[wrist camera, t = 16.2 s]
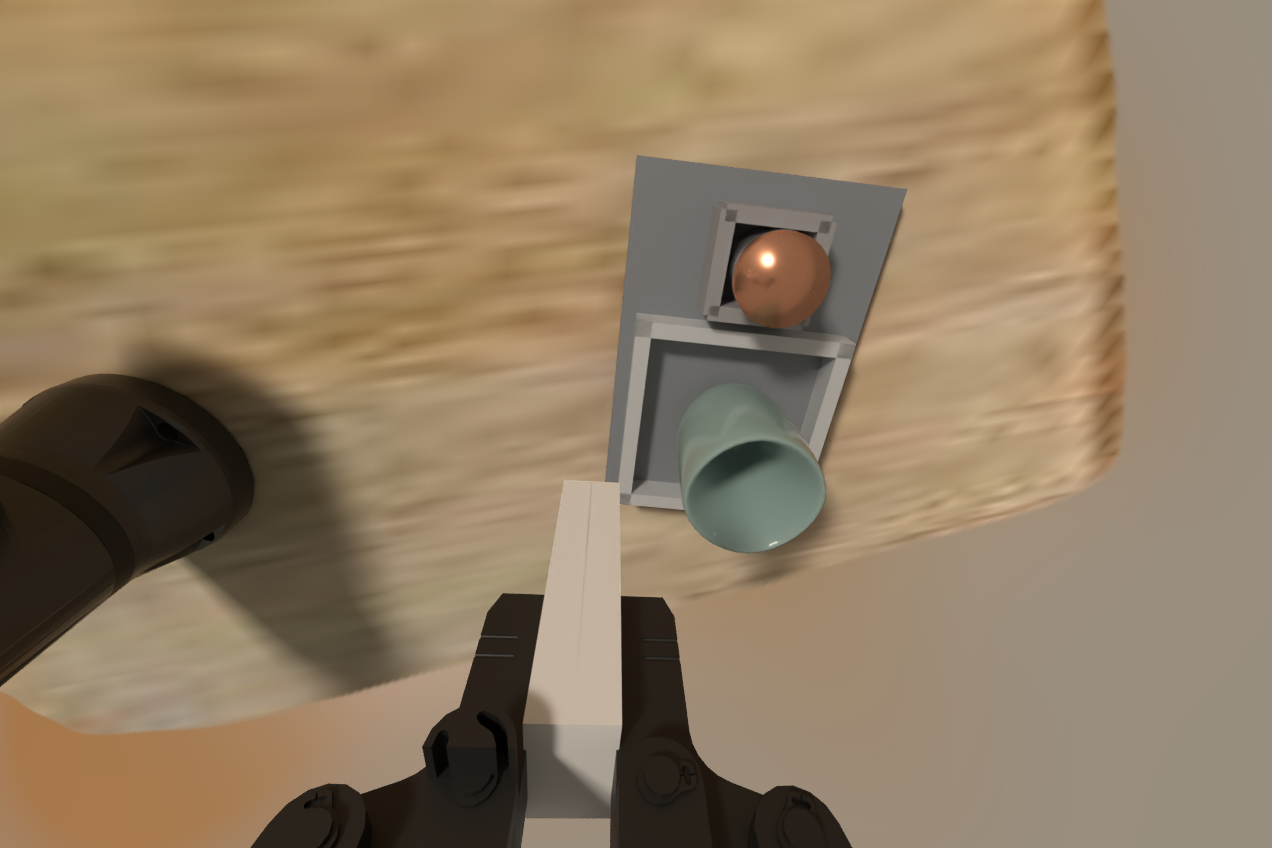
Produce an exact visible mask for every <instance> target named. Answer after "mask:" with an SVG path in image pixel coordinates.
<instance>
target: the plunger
mask: <svg viewBox="0 0 1272 848" xmlns="http://www.w3.org/2000/svg"><path fill="white" fill-rule="evenodd" d="M726 278H727V280H728V282H729V283H730V285H731V286H732V289H733V294H734V297H735V300H736V302H737V304H738V305H739V307H740V308H741V310H742V311H743V312H744V313H745V315H746V316H747V317H748V318H749V319H751V320H752V321H753V322H755V323H757V324H759V325H761V326H764V327H768V328H785V327H790V326H793V325H796V324H798V323H800V322H802V321H803V320H805V319H807V318H808V317H809V316H810V315H812V314H813V313H814V312H815V311H816V310H817V308H818V307H819V306H820V305H821V303H822V301H823V300H824V298H825V296H826V294H827V291H828V288H829V285H830V279H831V268H830V262H829V259H828V256H827V254H826V252H825V250H824V249H823V247H822V246H821V245H820V244H819V243H818V242H817V241H816V240H814V239H813V238H812V237H810V236H808V235H806V234H803V233H800V232H797V231H793V230H785V229H782V230H775V231H772V230H769V229H763V228H758V229H752V230H749V231H747V232H745V233H743V234H741V235H740V236H739V237H737V238H736V239H735V240H734V241H733V243H732V244H731V249H730V255H729V260H728V265H727V271H726Z"/></svg>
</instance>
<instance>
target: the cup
mask: <svg viewBox="0 0 1272 848" xmlns="http://www.w3.org/2000/svg"><path fill="white" fill-rule="evenodd" d="M675 450H676V463H677V473H678V481H679V488H680V495H681V501H682V505H683V508H684V510H685V513H686V516H687V518H688V520H689V521H690V523H691V524H692V526H693V527H694V528H695V529H696V530H697V531H698V532H699V533H700V534H701V535H702V536H703V537H704V538H705V539H707V540H708V541H710V542H711V543H713V544H715V545H717V546H719V547H721V548H723V549H726V550H730V551H733V552H740V553H756V552H762V551H766V550H770V549H773V548H776V547H778V546H780V545H783V544H785V543H787V542H788V541H790V540H792V539H793V538H795V537H797V536H798V535H799V534H800V533H802V532H803V531H804V530H805V529H807V527H808V526H809V525H810V524H811V523H812V522H813V521H814V520H815V518H816V517H817V515H818V514H819V512H820V511H821V509H822V506H823V504H824V501H825V498H826V484H825V479H824V474H823V472H822V469H821V467H820V465H819V463H818V461H817V459H816V457H815V455H814V454H813V452H812V450H811V449H810V447H809V446H808V444H807V442H806V441H805V439H804V438H803V436H802V435H801V433H800V432H799V430H798V429H797V427H796V426H795V425H794V423H793V422H792V421H791V419H790V418H789V417H788V415H787V414H786V413H785V412H784V410H783V409H782V408H781V407H780V406H779V405H778V404H777V403H776V402H775V401H774V400H773V399H772V398H770V397H769V396H768V395H767V394H766V393H764V392H762V391H761V390H759V389H757V388H755V387H754V386H751V385H748V384H745V383H740V382H725V383H721V384H718V385H714V386H712V387H710V388H708V389H706V390H705V391H703V392H702V393H701V394H699V395H698V396H697V397H696V398H695V399H694V400H693V401H692V402H691V403H690V404H689V405H688V407H687V408H686V410H685V411H684V413H683V415H682V417H681V419H680V421H679V424H678V429H677V434H676V443H675Z"/></svg>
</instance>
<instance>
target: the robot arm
mask: <svg viewBox="0 0 1272 848" xmlns="http://www.w3.org/2000/svg"><path fill="white" fill-rule="evenodd" d="M252 498H253V480H252V475H251V471H250V468H249V465H248V463H247V461H246V459H245V457H244V455H243V453H242V451H241V450H240V448H239V446H238V445H237V443H236V442H235V441H234V439H233V438H232V437H231V436H230V434H229V433H228V432H227V431H226V430H225V429H224V428H223V427H222V426H221V425H220V424H219V423H218V422H217V421H216V420H215V419H214V418H213V417H212V416H210V415H209V414H208V413H207V412H206V411H204V410H203V409H202V408H200V407H199V406H197V405H196V404H195V403H193V402H192V401H190V400H188V399H187V398H185V397H183V396H181V395H180V394H178V393H176V392H174V391H172V390H170V389H168V388H165V387H163V386H161V385H158V384H155V383H153V382H150V381H146V380H143V379H139V378H135V377H131V376H125V375H117V374H95V375H88V376H84V377H80V378H77V379H74V380H71V381H69V382H66V383H63V384H60V385H58V386H55V387H52V388H49V389H47V390H45V391H43V392H41V393H39V394H37V395H35V396H34V397H32V398H31V399H30V400H28V401H27V402H26V403H25V404H23V406H22V407H21V408H20V409H19V410H17V411H16V412H15V413H13V414H12V415H11V416H9V417H8V418H7V419H6V420H4V421H3V422H2V423H1V424H0V687H1V686H2V685H3V684H4V683H6V682H7V681H8V680H9V679H10V678H12V677H13V676H14V675H15V674H17V673H18V672H19V671H20V670H21V669H23V668H24V667H25V666H26V665H28V664H29V663H30V662H31V661H32V660H34V659H35V658H36V657H37V656H39V655H40V654H41V653H42V652H43V651H45V650H46V649H47V648H48V647H50V646H51V645H52V644H53V643H54V642H56V641H57V640H58V639H59V638H61V637H62V636H63V635H64V634H65V633H67V632H68V631H69V630H70V629H72V628H73V627H74V626H75V625H76V624H78V623H79V622H80V621H81V620H83V619H84V618H85V617H86V616H87V615H89V614H90V613H91V612H92V611H94V610H95V609H96V608H97V607H98V606H100V605H101V604H102V603H103V602H105V601H106V600H107V599H108V598H109V597H111V596H112V595H113V594H114V593H116V592H117V591H118V590H119V589H121V588H122V587H123V586H124V585H126V584H127V583H128V582H130V581H131V580H133V579H134V578H137V577H139V576H141V575H143V574H146V573H148V572H150V571H153V570H155V569H157V568H159V567H162V566H164V565H166V564H168V563H171V562H173V561H175V560H178V559H180V558H182V557H184V556H187V555H189V554H191V553H193V552H195V551H198V550H200V549H202V548H204V547H207V546H209V545H211V544H212V543H214V542H215V541H217V540H218V539H220V538H221V537H222V536H224V535H225V534H226V533H227V532H228V531H229V530H230V529H232V528H233V527H234V526H235V525H236V524H237V523H238V522H240V521H241V520H242V519H243V517H244V516H245V515H246V513H247V512H248V510H249V508H250V505H251V502H252ZM422 748H423V753H424V758H425V763H426V767H425V768H423V769H422V770H421V771H419V772H418V773H416V774H415V775H413V776H410V777H408V778H406V779H404V780H401V781H399V782H396V783H393V784H390V785H387V786H384V787H381V788H378V789H375V790H372V791H369V792H366V793H363V794H360V793H359V792H357V791H356V790H354V789H353V788H351V787H349V786H348V785H345V784H326V785H323V786H320V787H317V788H314V789H310V790H308V791H306V792H305V793H303V794H302V795H300V796H299V797H297V798H296V799H294V800H293V801H291V802H290V803H288V804H287V805H286V806H285V807H284V808H283V809H282V810H281V811H280V812H279V813H278V814H277V815H276V816H275V817H274V819H272V821H271V822H270V823H269V824H268V825H267V826H266V828H265V829H264V830H263V832H262V833H261V834H260V836H259V837H258V838H257V840H256V841H255V843H254V844H253V845H252V846H251V848H521V842H522V835H523V828H524V821H525V814H526V818H611V823H610V824H611V825H610V827H611V829H610V848H852V847H851V845H850V843H849V841H848V839H847V837H846V835H845V834H844V832H843V830H842V828H841V826H840V824H839V823H838V821H837V820H836V818H835V817H834V816H833V815H832V813H831V812H830V810H829V809H828V807H827V806H826V805H825V804H824V803H823V802H821V801H820V800H819V799H818V798H817V797H815V796H814V795H813V794H812V793H810V792H808V791H806V790H803V789H801V788H798V787H795V786H776V787H775V788H773V789H771V790H770V791H768V792H766V793H765V794H764V795H762V794H759V793H757V792H754V791H752V790H749V789H747V788H744V787H742V786H739V785H736V784H734V783H731V782H729V781H727V780H725V779H723V778H722V777H720V776H718V775H717V774H715V773H714V772H713V771H712V770H711V769H709V768H708V767H707V766H706V765H705V763H704V762H703V761H702V759H701V758H700V757H699V756H698V754H697V752H696V750H695V748H694V746H693V744H692V740H691V736H690V732H689V725H688V718H687V710H686V702H685V694H684V687H683V680H682V672H681V664H680V660H679V649H678V643H677V634H676V626H675V618H674V615H673V614H672V612H671V610H670V609H669V607H668V606H667V604H666V602H665V601H664V599H663V598H658V597H630V596H621V577H620V483H615V482H596V481H577V480H564V484H563V490H562V496H561V502H560V508H559V514H558V520H557V526H556V531H555V537H554V543H553V549H552V555H551V561H550V567H549V572H548V578H547V584H546V590H545V595H535V594H506V593H503V594H502V595H501V596H500V597H499V599H498V600H497V601H496V602H495V604H494V605H493V606H492V607H491V608H490V610H489V611H488V612H487V616H486V619H485V622H484V626H483V629H482V633H481V638H480V639H479V643H478V646H477V650H476V654H475V658H474V660H473V663H472V667H471V670H470V674H469V677H468V680H467V684H466V687H465V690H464V694H463V697H462V701H461V704H460V707H459V708H458V709H456V710H454V711H452V712H450V713H448V714H447V715H445V716H444V717H443V718H442V719H441V720H440V721H439V722H438V723H437V724H436V725H435V726H434V727H433V728H432V730H431V731H430V733H429V735H428V737H427V739H426V741H425V743H424V745H423V746H422Z"/></svg>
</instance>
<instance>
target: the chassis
mask: <svg viewBox="0 0 1272 848" xmlns="http://www.w3.org/2000/svg"><path fill="white" fill-rule="evenodd" d="M906 192H907V189H901V188H893V187H885V186H877V185H869V184H861V183H853V182H845V181H837V180H830V179H822V178H814V177H806V176H798V175H790V174H782V173H774V172H766V171H758V170H750V169H742V168H734V167H726V166H718V165H710V164H702V163H694V162H686V161H678V160H670V159H662V158H654V157H646V156H639V155H637V160H636V170H635V180H634V191H633V201H632V211H631V221H630V232H629V242H628V252H627V263H626V273H625V283H624V294H623V304H622V314H621V324H620V335H619V345H618V355H617V366H616V376H615V386H614V397H613V407H612V417H611V427H610V438H609V448H608V458H607V469H606V479H605V482H615V483H620V504H624V505H635V506H647V507H658V508H669V509H680V510H684V508H683V505H682V501H681V495H680V488H679V481H678V473H677V463H676V450H675V443H676V434H677V429H678V424H679V421H680V419H681V417H682V415H683V413H684V411H685V410H686V408H687V407H688V405H689V404H690V403H691V402H692V401H693V400H694V399H695V398H696V397H697V396H698V395H699V394H701V393H702V392H703V391H705V390H706V389H708V388H710V387H712V386H714V385H718V384H721V383H725V382H740V383H745V384H748V385H751V386H754V387H755V388H757V389H759V390H761V391H762V392H764V393H766V394H767V395H768V396H769V397H770V398H772V399H773V400H774V401H775V402H776V403H777V404H778V405H779V406H780V407H781V408H782V409H783V410H784V412H785V413H786V414H787V415H788V417H789V418H790V419H791V421H792V422H793V423H794V425H795V426H796V427H797V429H798V430H799V432H800V433H801V435H802V436H803V438H804V439H805V441H806V442H807V444H808V446H809V447H810V449H811V450H812V452H813V454H814V455H815V457H816V459H817V461H818V460H819V457H820V454H821V451H822V448H823V445H824V442H825V439H826V436H827V432H828V429H829V426H830V423H831V420H832V417H833V414H834V411H835V408H836V405H837V402H838V399H839V396H840V393H841V390H842V387H843V384H844V381H845V378H846V375H847V372H848V368H849V365H850V362H851V359H852V356H853V353H854V350H855V347H856V344H857V341H858V338H859V335H860V332H861V329H862V326H863V323H864V320H865V317H866V314H867V310H868V307H869V304H870V301H871V298H872V295H873V292H874V289H875V286H876V283H877V280H878V277H879V274H880V271H881V268H882V265H883V262H884V259H885V256H886V253H887V249H888V246H889V243H890V240H891V237H892V234H893V231H894V228H895V225H896V222H897V219H898V216H899V213H900V210H901V207H902V204H903V201H904V198H905V195H906ZM758 228H763V229H769V230H772V231H775V230H782V229H785V230H793V231H797V232H800V233H803V234H806V235H808V236H810V237H812V238H813V239H814V240H816V241H817V242H818V243H819V244H820V245H821V246H822V247H823V249H824V250H825V252H826V254H827V256H828V259H829V262H830V268H831V279H830V285H829V288H828V291H827V294H826V296H825V298H824V300H823V301H822V303H821V305H820V306H819V307H818V308H817V310H816V311H815V312H814V313H813V314H812V315H810V316H809V317H808V318H807V319H805V320H803V321H802V322H800V323H798V324H796V325H793V326H790V327H785V328H768V327H764V326H761V325H759V324H757V323H755V322H753V321H752V320H751V319H749V318H748V317H747V316H746V315H745V313H744V312H743V311H742V310H741V308H740V307H739V305H738V304H737V302H736V300H735V297H734V294H733V289H732V286H731V285H730V283H729V282H728V280H727V278H726V271H727V265H728V260H729V255H730V249H731V244H732V243H733V241H734V240H735V239H736V238H737V237H739V236H740V235H741V234H743V233H745V232H747V231H749V230H752V229H758Z"/></svg>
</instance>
